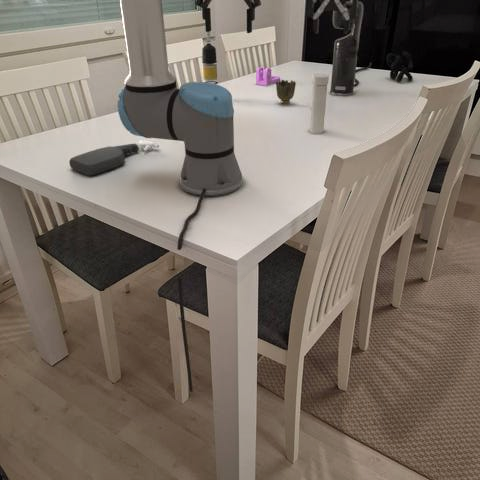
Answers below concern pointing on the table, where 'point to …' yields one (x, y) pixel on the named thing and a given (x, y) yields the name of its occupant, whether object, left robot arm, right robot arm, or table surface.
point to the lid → (320, 79)
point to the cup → (285, 91)
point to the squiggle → (399, 66)
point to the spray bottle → (106, 157)
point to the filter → (209, 61)
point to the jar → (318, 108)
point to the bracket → (265, 77)
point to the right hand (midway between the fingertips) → (330, 33)
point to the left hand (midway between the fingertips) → (228, 32)
